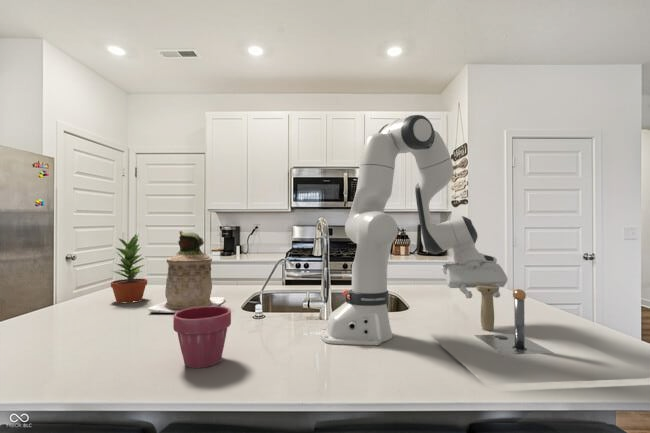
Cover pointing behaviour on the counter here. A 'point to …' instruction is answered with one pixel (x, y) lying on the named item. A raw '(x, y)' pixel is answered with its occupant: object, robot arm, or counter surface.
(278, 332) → the counter surface
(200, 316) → the plant pot
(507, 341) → the plate
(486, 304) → the handle
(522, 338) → the lever with round knob
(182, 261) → the cookie jar
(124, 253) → the potted plant
